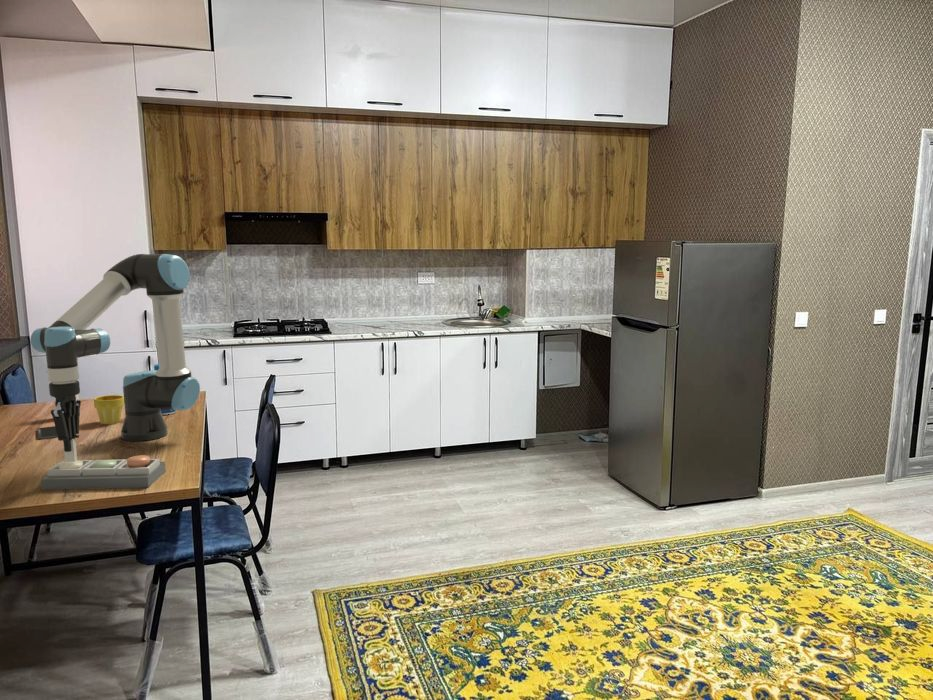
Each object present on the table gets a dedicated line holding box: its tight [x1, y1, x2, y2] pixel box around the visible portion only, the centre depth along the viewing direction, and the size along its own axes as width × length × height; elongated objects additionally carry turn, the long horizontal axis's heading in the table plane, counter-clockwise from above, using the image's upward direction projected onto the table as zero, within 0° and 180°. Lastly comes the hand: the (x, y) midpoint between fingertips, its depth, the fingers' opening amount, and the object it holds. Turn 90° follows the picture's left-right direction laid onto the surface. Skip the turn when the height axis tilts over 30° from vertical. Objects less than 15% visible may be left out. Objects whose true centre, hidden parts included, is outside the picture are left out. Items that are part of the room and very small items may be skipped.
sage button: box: [93, 459, 117, 468], centre depth 203 cm, size 6×6×2 cm
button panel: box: [40, 458, 167, 491], centre depth 203 cm, size 14×29×5 cm, turn 95°
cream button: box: [59, 459, 83, 469], centre depth 202 cm, size 6×6×2 cm
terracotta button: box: [126, 454, 151, 468], centre depth 203 cm, size 6×6×2 cm
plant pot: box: [93, 394, 125, 425], centre depth 268 cm, size 10×10×10 cm
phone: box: [36, 425, 58, 441], centre depth 252 cm, size 8×1×15 cm
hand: (71, 461), depth 202 cm, fingers closed
